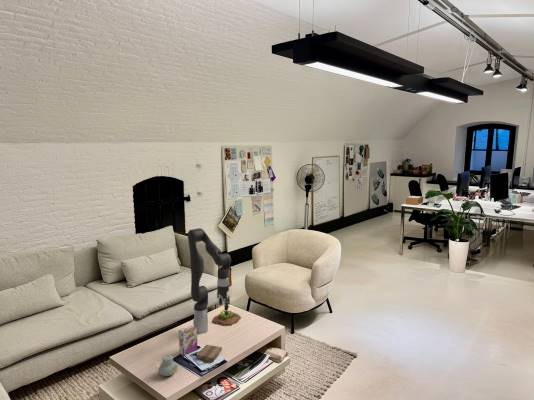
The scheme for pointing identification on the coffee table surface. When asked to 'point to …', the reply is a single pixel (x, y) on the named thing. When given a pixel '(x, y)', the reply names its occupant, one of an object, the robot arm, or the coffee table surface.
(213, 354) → the walnut plinth
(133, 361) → the coffee table surface
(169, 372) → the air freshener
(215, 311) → the coffee table surface
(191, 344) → the candy bar box
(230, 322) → the plant
